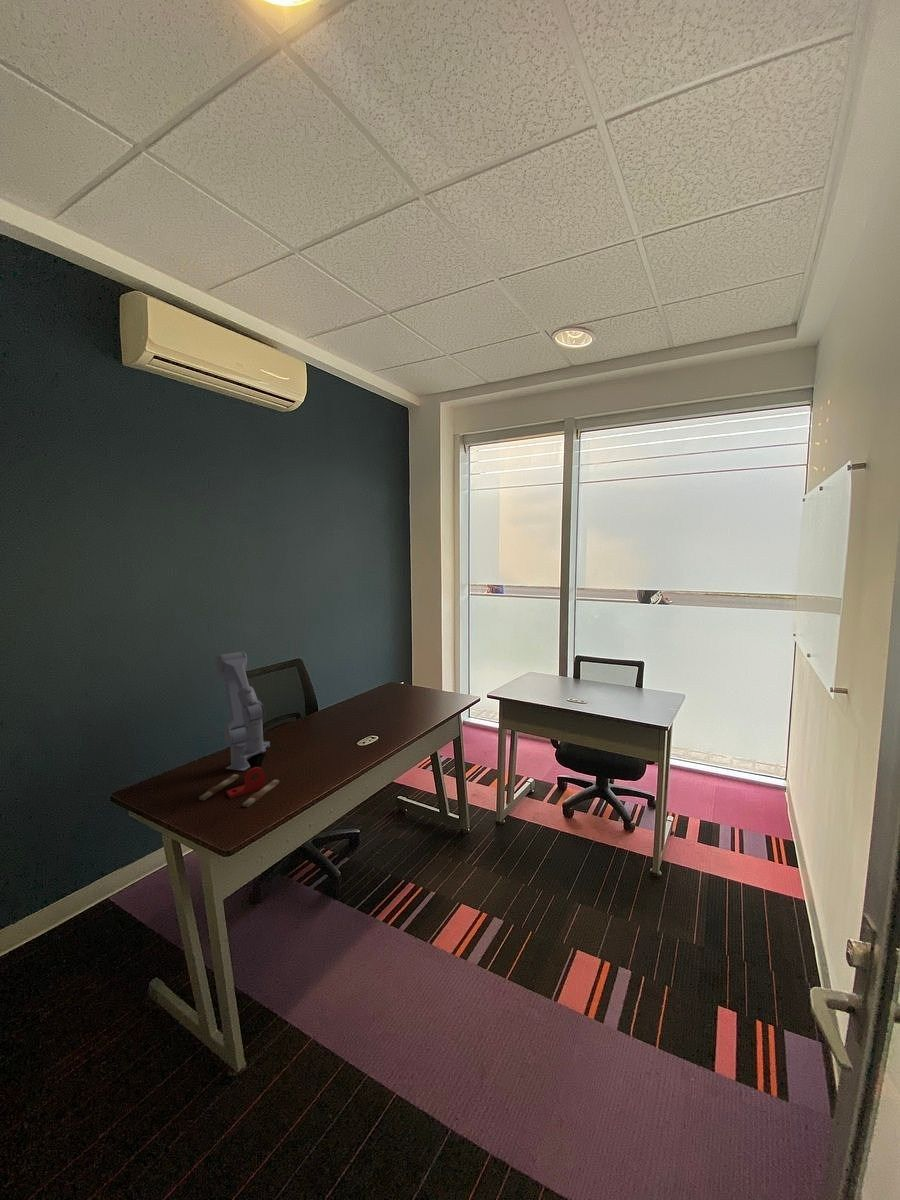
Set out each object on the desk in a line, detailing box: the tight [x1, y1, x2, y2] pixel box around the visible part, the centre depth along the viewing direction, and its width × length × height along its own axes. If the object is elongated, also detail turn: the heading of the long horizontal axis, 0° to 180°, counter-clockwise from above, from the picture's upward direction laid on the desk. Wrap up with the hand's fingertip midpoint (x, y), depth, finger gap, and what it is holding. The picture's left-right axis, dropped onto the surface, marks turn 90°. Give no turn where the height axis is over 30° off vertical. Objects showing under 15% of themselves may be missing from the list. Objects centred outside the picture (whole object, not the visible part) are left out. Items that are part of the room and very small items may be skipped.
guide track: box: [198, 773, 280, 808], centre depth 168 cm, size 17×19×1 cm
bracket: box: [226, 767, 267, 799], centre depth 168 cm, size 12×4×8 cm, turn 132°
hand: (256, 773), depth 176 cm, fingers closed
